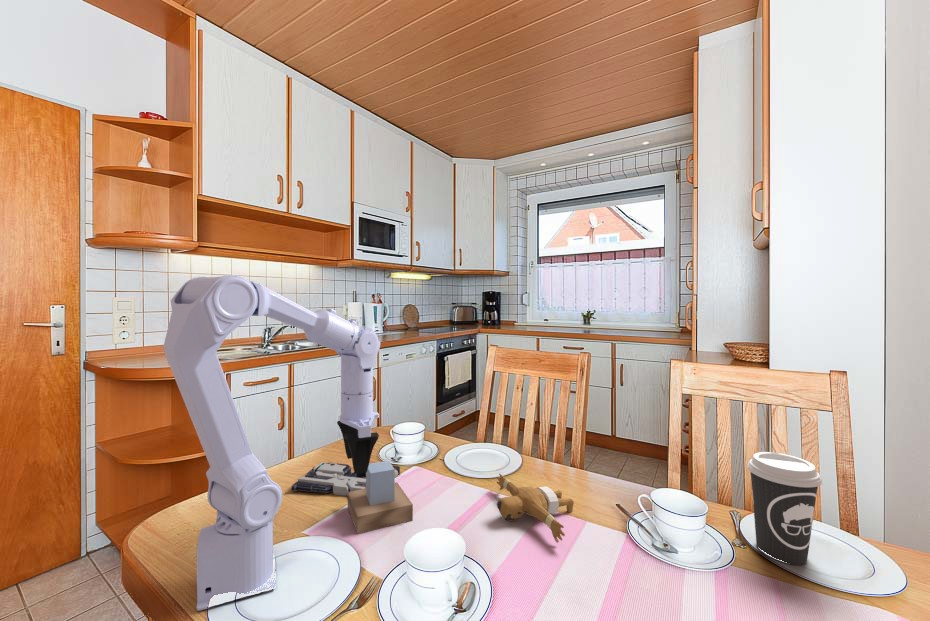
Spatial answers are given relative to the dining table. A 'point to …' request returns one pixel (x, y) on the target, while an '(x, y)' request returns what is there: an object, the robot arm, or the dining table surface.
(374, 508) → the walnut base
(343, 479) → the toy gun
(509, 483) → the toy
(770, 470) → the coffee cup
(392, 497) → the slate block
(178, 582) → the dining table surface
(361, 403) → the robot arm
